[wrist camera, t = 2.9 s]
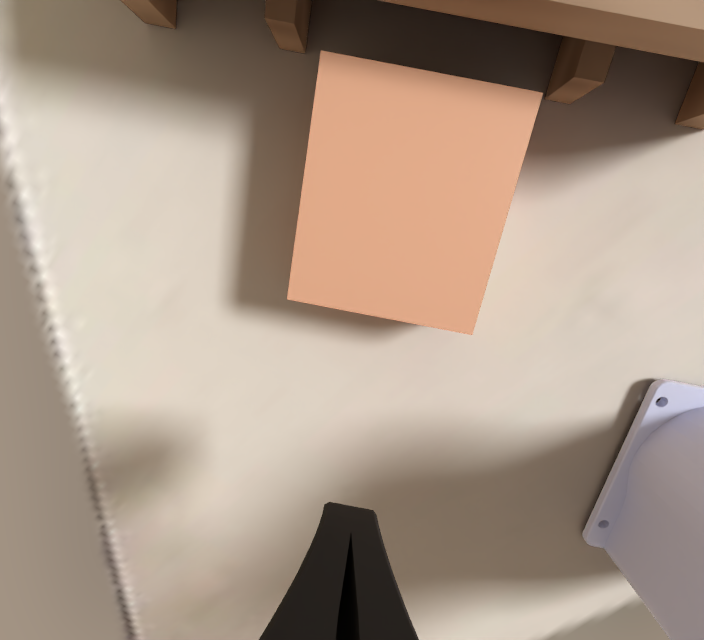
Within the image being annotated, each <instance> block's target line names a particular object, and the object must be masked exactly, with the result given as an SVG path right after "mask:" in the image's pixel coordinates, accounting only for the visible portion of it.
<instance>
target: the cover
mask: <svg viewBox="0 0 704 640" xmlns="http://www.w3.org/2000/svg"><path fill="white" fill-rule="evenodd" d="M542 95H543V93H542V92H537V91H532V90H526V89H521V88H516V87H511V86H505V85H500V84H495V83H490V82H484V81H479V80H474V79H469V78H463V77H458V76H453V75H448V74H442V73H437V72H432V71H427V70H421V69H416V68H411V67H406V66H400V65H395V64H390V63H385V62H379V61H374V60H369V59H364V58H358V57H353V56H348V55H343V54H337V53H332V52H327V51H322V50H321V53H320V60H319V67H318V75H317V82H316V89H315V97H314V104H313V111H312V119H311V126H310V133H309V141H308V148H307V155H306V163H305V170H304V177H303V185H302V192H301V199H300V207H299V214H298V221H297V229H296V236H295V243H294V251H293V258H292V265H291V273H290V280H289V287H288V294H287V299H288V300H293V301H298V302H303V303H308V304H314V305H319V306H324V307H329V308H334V309H339V310H345V311H350V312H355V313H360V314H365V315H371V316H376V317H381V318H386V319H391V320H397V321H402V322H407V323H412V324H417V325H423V326H428V327H433V328H438V329H443V330H449V331H454V332H459V333H464V334H469V335H472V334H473V331H474V327H475V324H476V320H477V317H478V314H479V310H480V307H481V303H482V300H483V296H484V293H485V290H486V286H487V283H488V279H489V276H490V273H491V269H492V266H493V262H494V259H495V256H496V252H497V249H498V245H499V242H500V239H501V235H502V232H503V228H504V225H505V221H506V218H507V215H508V211H509V208H510V204H511V201H512V198H513V194H514V191H515V187H516V184H517V181H518V177H519V174H520V170H521V167H522V164H523V160H524V157H525V153H526V150H527V146H528V143H529V140H530V136H531V133H532V129H533V126H534V123H535V119H536V116H537V112H538V109H539V106H540V102H541V99H542Z"/></svg>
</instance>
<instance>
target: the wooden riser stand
mask: <svg viewBox="0 0 704 640" xmlns="http://www.w3.org/2000/svg"><path fill="white" fill-rule="evenodd" d="M121 1H122V2H123V3H124V4H125V5H126V6H127V7H128V8H129V9H130V10H132V11H133V12H134V13H135V14H136V15H137V16H138V17H139V18H140V19H141V20H143V21H144V22H145V23H148V24H153V25H158V26H163V27H169V28H174V29H176V11H177V0H121ZM379 1H384V2H389V3H395V4H400V5H405V6H410V7H416V8H421V9H426V10H431V11H437V12H442V13H447V14H452V15H458V16H463V17H468V18H473V19H479V20H484V21H489V22H494V23H500V24H505V25H510V26H516V27H521V28H526V29H531V30H537V31H542V32H547V33H552V34H558V35H563V38H562V42H561V45H560V49H559V52H558V55H557V59H556V62H555V65H554V69H553V72H552V76H551V79H550V82H549V86H548V89H547V93H546V96H545V99H546V100H551V101H557V102H562V103H567V104H571V103H573V102H574V101H576V100H577V99H579V98H581V97H582V96H584V95H585V94H587V93H589V92H590V91H592V90H593V89H595V88H597V87H598V86H600V85H601V84H603V83H604V82H605V79H606V76H607V73H608V70H609V67H610V64H611V61H612V58H613V55H614V52H615V49H616V46H621V47H626V48H631V49H636V50H642V51H647V52H652V53H657V54H663V55H668V56H673V57H678V58H684V59H689V60H694V61H699V63H698V66H697V68H696V71H695V74H694V76H693V79H692V81H691V84H690V86H689V89H688V91H687V94H686V96H685V99H684V102H683V104H682V107H681V109H680V112H679V114H678V117H677V119H676V122H675V124H677V125H683V126H688V127H693V128H698V129H704V0H379ZM311 4H312V0H266V6H265V17H264V18H265V20H266V22H267V24H268V26H269V28H270V30H271V32H272V34H273V36H274V38H275V40H276V42H277V44H278V46H279V48H280V49H284V50H289V51H294V52H300V53H305V52H306V44H307V36H308V28H309V20H310V12H311Z"/></svg>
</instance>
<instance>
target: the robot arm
mask: <svg viewBox="0 0 704 640" xmlns="http://www.w3.org/2000/svg"><path fill="white" fill-rule="evenodd" d="M660 397H661V399H660V400H659V402H657V403H656V400H657V399H658V398H660ZM582 536H583V538H584V540H585V541H586V543H587V544H588V545H590V546H594V547H599V548H604V549H605V551H606V552H607V553H608V555H609V556H610V557H611V559H612V560H613V561H614V563H615V564H616V566H617V567H618V568H619V570H620V571H621V572H622V574H623V575H624V577H625V578H626V579H627V581H628V582H629V583H630V585H631V586H632V588H633V589H634V590H635V592H636V593H637V594H638V596H639V597H640V598H641V600H642V601H643V603H644V604H645V605H646V607H647V608H648V609H649V611H650V612H651V614H652V615H653V616H654V618H655V619H656V620H657V622H658V623H659V625H660V626H661V627H662V629H663V630H664V631H665V633H666V634H667V635H668V637H669V638H670V640H704V386H698V385H693V384H688V383H683V382H678V381H673V380H667V379H659V380H656V381H654V382H653V383H652V384H651V385H650V387H649V389H648V391H647V393H646V395H645V398H644V400H643V402H642V404H641V406H640V408H639V411H638V413H637V415H636V417H635V419H634V422H633V424H632V426H631V428H630V430H629V432H628V435H627V437H626V439H625V441H624V443H623V446H622V448H621V450H620V452H619V454H618V456H617V459H616V461H615V463H614V465H613V467H612V469H611V472H610V474H609V476H608V478H607V480H606V483H605V485H604V487H603V489H602V491H601V493H600V496H599V498H598V500H597V502H596V504H595V506H594V509H593V511H592V513H591V515H590V517H589V520H588V522H587V524H586V526H585V528H584V530H583V534H582ZM259 640H419V639H418V637H417V634H416V632H415V629H414V627H413V625H412V622H411V620H410V617H409V615H408V612H407V610H406V607H405V605H404V602H403V599H402V597H401V594H400V591H399V588H398V586H397V583H396V580H395V577H394V575H393V572H392V569H391V566H390V563H389V560H388V556H387V553H386V550H385V547H384V543H383V540H382V536H381V533H380V529H379V525H378V521H377V516H376V514H375V512H374V511H373V510H369V509H363V508H358V507H353V506H348V505H342V504H337V503H332V502H328V503H327V504H325V505H324V510H323V514H322V517H321V521H320V524H319V526H318V529H317V532H316V534H315V536H314V539H313V541H312V544H311V546H310V548H309V550H308V552H307V554H306V556H305V558H304V560H303V563H302V565H301V567H300V569H299V571H298V573H297V575H296V577H295V579H294V580H293V582H292V584H291V586H290V588H289V589H288V591H287V593H286V595H285V596H284V598H283V600H282V602H281V604H280V605H279V607H278V609H277V611H276V612H275V614H274V616H273V617H272V619H271V621H270V622H269V624H268V626H267V627H266V629H265V631H264V632H263V634H262V635H261V637H260V639H259Z"/></svg>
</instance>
